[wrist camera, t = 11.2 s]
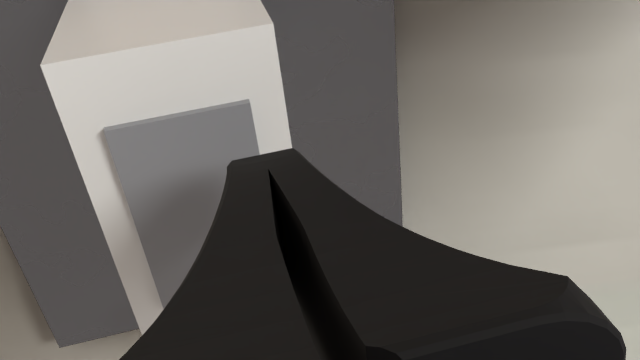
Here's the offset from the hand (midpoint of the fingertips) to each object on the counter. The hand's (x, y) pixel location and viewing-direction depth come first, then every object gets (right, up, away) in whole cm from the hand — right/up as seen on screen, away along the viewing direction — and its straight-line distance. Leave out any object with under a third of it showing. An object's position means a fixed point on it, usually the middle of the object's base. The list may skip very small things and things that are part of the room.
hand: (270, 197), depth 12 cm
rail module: (-3, +3, +7) cm, 8 cm away
